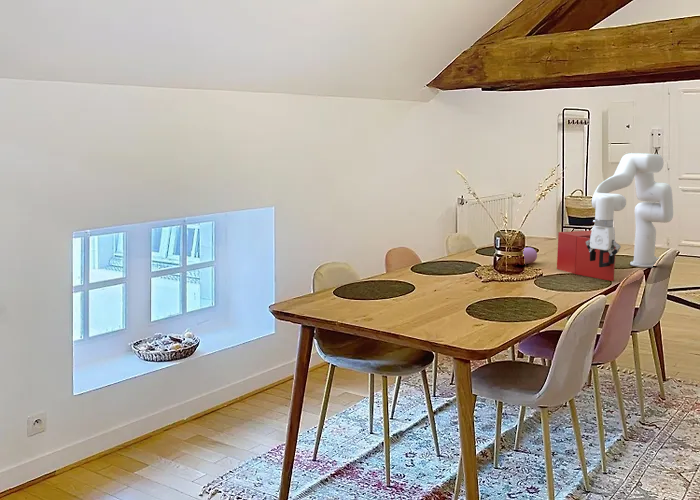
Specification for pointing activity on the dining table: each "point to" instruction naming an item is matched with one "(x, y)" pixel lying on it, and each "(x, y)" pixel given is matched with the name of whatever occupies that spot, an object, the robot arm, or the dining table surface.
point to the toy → (529, 255)
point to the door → (593, 262)
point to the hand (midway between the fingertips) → (601, 262)
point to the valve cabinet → (569, 249)
